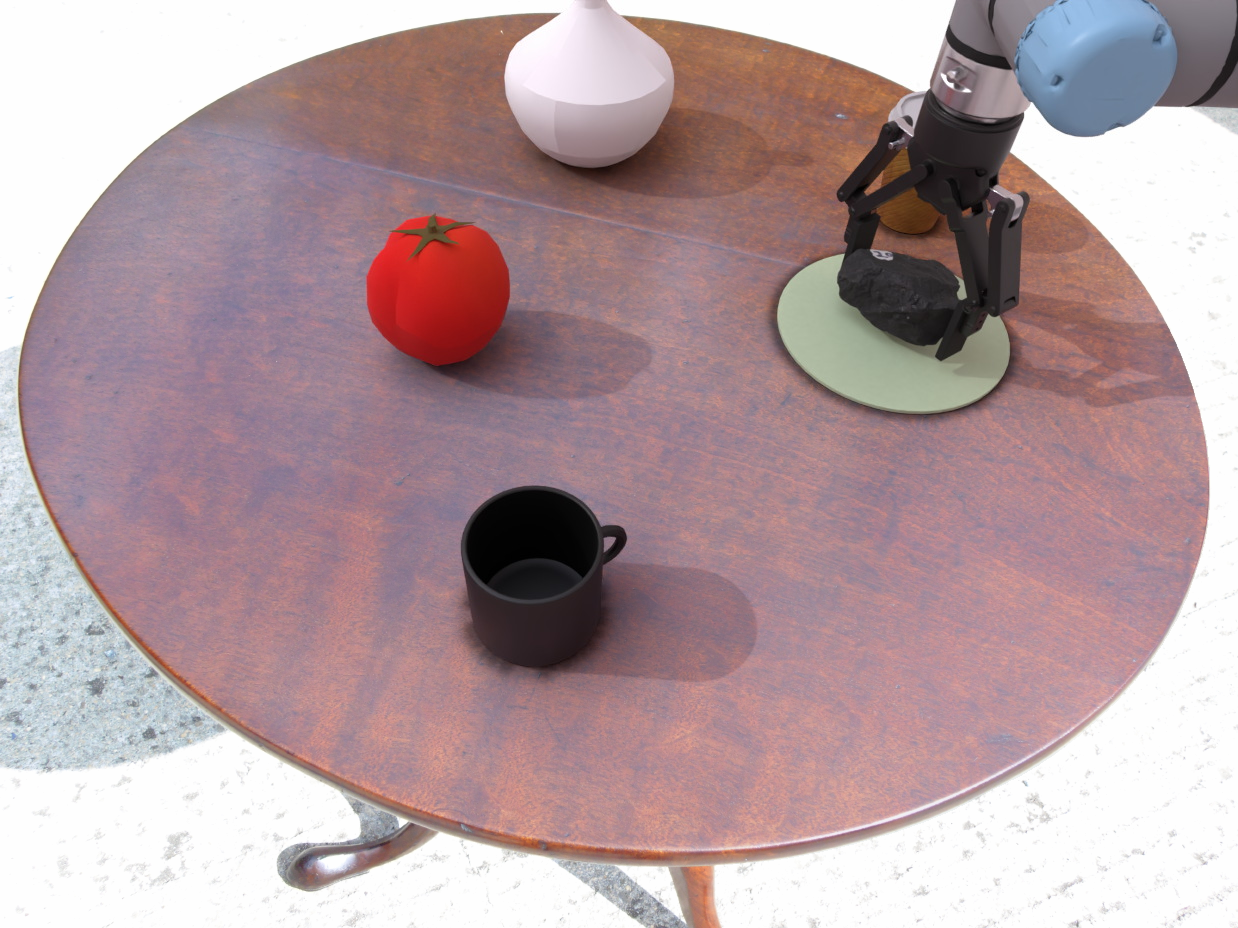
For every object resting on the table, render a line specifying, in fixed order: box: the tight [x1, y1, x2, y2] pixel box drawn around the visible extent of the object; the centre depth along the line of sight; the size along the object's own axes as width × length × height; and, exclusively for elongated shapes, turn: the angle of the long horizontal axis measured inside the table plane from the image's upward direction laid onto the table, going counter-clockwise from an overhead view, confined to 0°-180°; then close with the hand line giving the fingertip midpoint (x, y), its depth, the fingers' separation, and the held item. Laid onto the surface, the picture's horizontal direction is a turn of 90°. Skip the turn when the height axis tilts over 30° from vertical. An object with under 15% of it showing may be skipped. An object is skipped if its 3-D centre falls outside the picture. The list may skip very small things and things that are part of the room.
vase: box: [503, 0, 675, 169], centre depth 98 cm, size 18×18×19 cm
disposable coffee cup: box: [876, 90, 941, 235], centre depth 95 cm, size 10×10×12 cm
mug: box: [460, 484, 628, 667], centre depth 64 cm, size 9×12×9 cm
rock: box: [837, 248, 961, 346], centre depth 84 cm, size 9×10×6 cm
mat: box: [776, 253, 1011, 415], centre depth 88 cm, size 22×22×1 cm
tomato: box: [365, 212, 511, 367], centre depth 79 cm, size 12×12×13 cm
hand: (897, 312), depth 86 cm, fingers closed on rock, 12 cm apart
